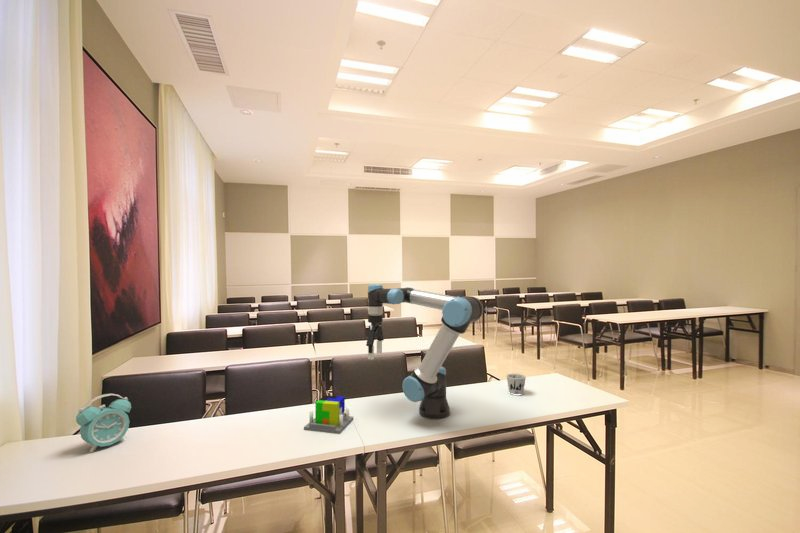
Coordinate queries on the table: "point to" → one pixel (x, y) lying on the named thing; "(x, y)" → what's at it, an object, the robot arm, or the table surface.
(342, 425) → the tray
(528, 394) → the table surface
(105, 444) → the alarm clock
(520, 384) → the mug
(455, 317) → the robot arm
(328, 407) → the puzzle toy
